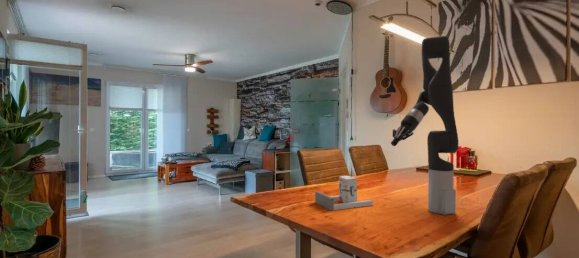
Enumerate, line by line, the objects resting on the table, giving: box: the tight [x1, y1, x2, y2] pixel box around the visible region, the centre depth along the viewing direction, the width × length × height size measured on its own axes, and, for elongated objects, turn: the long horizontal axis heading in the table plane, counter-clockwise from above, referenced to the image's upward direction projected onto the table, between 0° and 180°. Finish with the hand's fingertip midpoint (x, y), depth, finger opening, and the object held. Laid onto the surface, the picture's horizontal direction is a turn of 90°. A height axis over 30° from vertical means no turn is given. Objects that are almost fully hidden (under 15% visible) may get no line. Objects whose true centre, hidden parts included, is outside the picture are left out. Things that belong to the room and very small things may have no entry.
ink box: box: [338, 175, 358, 203], centre depth 136 cm, size 9×5×12 cm, turn 18°
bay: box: [314, 190, 374, 211], centre depth 135 cm, size 14×22×5 cm, turn 112°
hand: (392, 144), depth 146 cm, fingers closed
